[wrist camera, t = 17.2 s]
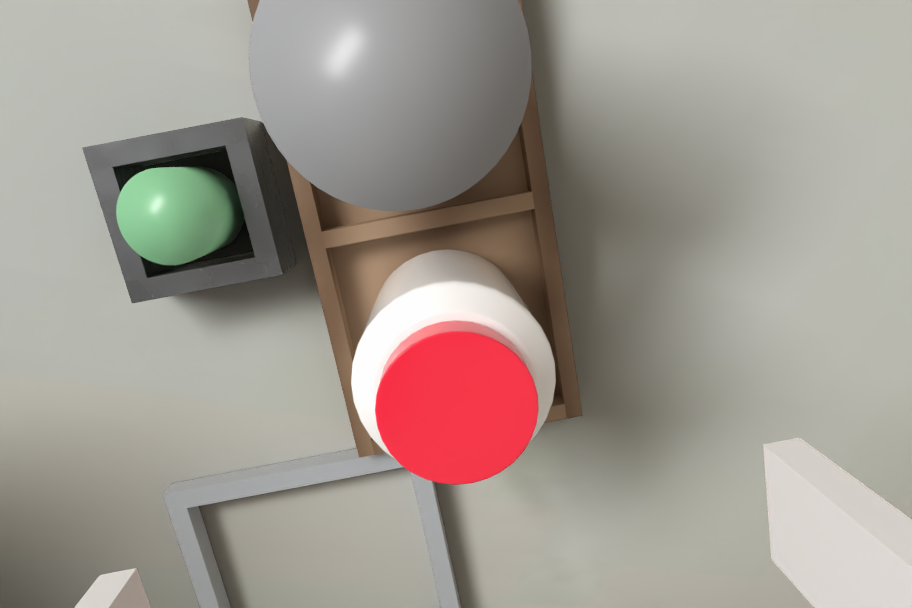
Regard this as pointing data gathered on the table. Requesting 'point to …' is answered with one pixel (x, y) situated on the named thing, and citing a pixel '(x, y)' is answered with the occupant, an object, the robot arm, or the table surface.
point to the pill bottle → (452, 369)
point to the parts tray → (284, 476)
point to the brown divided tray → (438, 228)
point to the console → (255, 192)
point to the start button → (178, 213)
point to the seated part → (391, 93)
